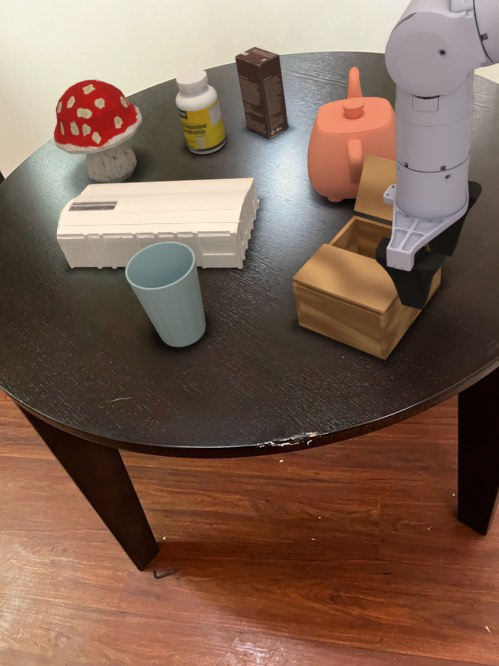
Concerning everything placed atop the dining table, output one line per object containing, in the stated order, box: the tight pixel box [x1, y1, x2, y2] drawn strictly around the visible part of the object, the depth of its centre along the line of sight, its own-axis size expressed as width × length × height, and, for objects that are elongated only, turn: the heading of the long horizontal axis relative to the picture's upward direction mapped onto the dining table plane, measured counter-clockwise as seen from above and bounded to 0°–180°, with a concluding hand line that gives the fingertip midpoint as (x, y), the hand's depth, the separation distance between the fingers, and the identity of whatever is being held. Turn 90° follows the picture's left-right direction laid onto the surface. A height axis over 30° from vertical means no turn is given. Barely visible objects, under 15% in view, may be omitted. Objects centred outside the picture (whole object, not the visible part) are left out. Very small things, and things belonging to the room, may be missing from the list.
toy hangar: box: [56, 177, 260, 270], centre depth 88 cm, size 25×15×7 cm, turn 80°
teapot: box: [306, 66, 396, 203], centre depth 87 cm, size 13×20×12 cm, turn 174°
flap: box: [353, 155, 396, 222], centre depth 71 cm, size 6×11×1 cm
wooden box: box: [291, 215, 442, 361], centre depth 72 cm, size 13×11×7 cm
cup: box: [124, 241, 207, 348], centre depth 73 cm, size 8×8×10 cm
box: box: [234, 46, 289, 140], centre depth 101 cm, size 6×4×12 cm
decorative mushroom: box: [53, 79, 143, 184], centre depth 98 cm, size 14×14×15 cm
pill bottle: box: [175, 68, 227, 155], centre depth 100 cm, size 6×6×12 cm
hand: (428, 277), depth 61 cm, fingers open, 7 cm apart
